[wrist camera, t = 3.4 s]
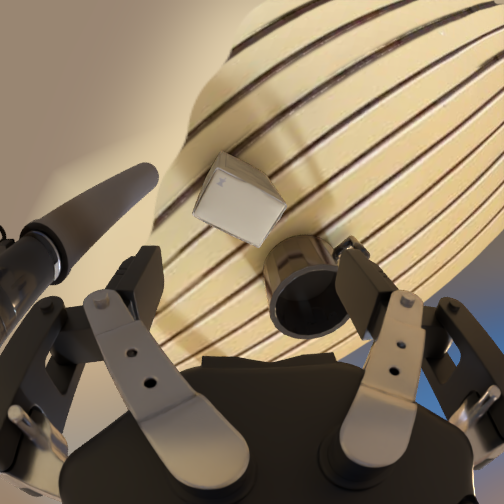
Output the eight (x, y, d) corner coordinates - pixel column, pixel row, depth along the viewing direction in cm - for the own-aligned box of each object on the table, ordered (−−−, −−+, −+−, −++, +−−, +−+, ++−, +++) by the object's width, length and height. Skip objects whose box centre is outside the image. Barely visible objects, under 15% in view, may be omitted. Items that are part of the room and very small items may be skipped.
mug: (294, 313, 41) (305, 351, 33) (246, 269, 37) (249, 306, 30) (367, 256, 37) (392, 286, 30) (327, 202, 33) (351, 225, 26)
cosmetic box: (203, 181, 31) (186, 214, 20) (221, 149, 30) (212, 163, 19) (251, 206, 33) (259, 251, 22) (270, 175, 32) (289, 205, 21)
